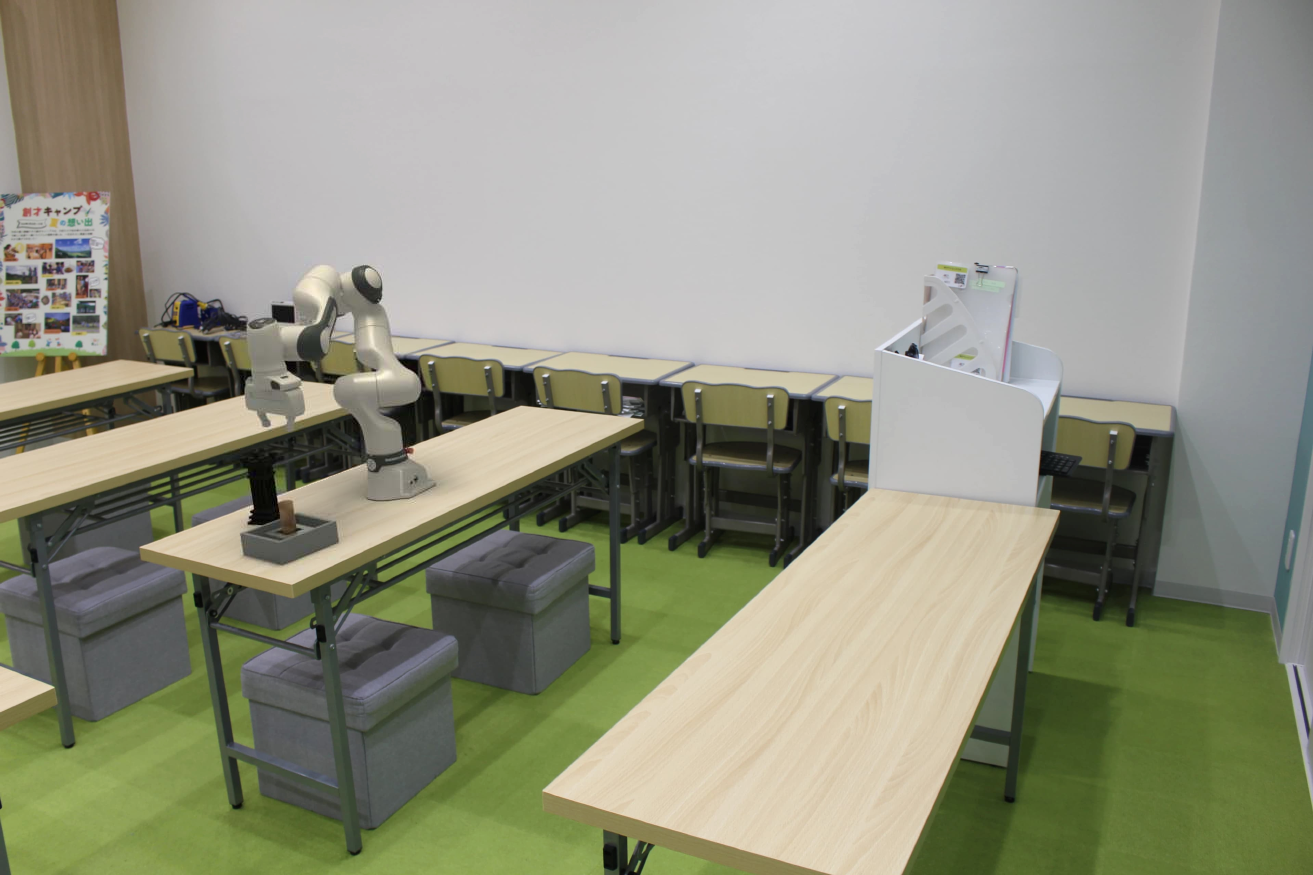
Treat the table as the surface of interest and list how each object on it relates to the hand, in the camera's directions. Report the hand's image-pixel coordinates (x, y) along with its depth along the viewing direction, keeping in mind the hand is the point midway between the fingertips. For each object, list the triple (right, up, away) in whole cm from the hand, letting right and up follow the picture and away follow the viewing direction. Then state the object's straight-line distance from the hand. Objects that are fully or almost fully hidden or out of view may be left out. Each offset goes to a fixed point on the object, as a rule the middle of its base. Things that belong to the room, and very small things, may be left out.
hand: (278, 428), depth 256 cm
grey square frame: (+6, -31, -6) cm, 32 cm away
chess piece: (-10, -27, +18) cm, 34 cm away
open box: (+6, -32, -5) cm, 33 cm away
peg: (+6, -31, -5) cm, 32 cm away
